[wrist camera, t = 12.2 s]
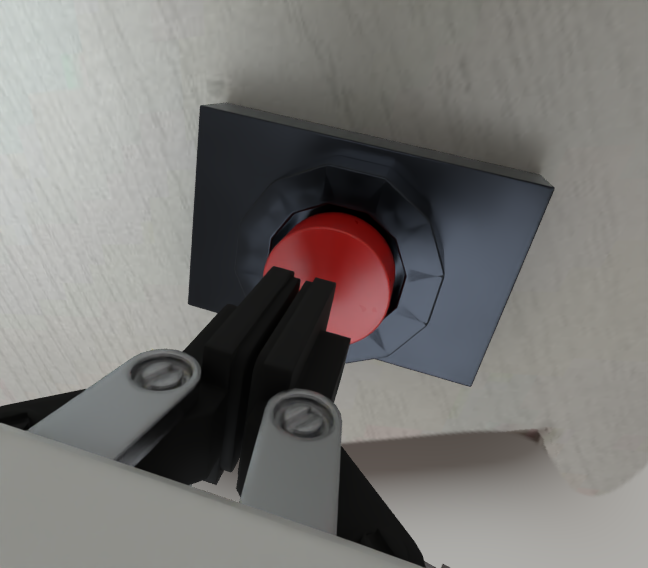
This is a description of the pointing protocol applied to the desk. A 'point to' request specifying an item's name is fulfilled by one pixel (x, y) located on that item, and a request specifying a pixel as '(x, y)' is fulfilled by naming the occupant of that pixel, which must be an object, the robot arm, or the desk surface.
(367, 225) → the button
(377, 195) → the button box
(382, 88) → the desk surface
